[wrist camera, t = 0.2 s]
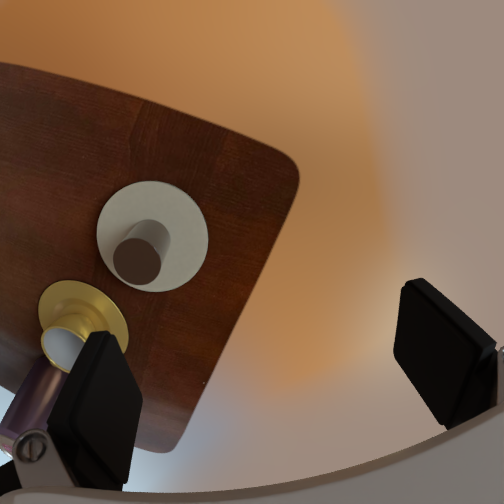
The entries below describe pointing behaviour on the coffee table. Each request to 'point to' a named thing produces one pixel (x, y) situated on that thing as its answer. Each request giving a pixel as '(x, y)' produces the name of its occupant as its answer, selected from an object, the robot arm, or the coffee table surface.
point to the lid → (152, 236)
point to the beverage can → (32, 402)
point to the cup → (76, 320)
